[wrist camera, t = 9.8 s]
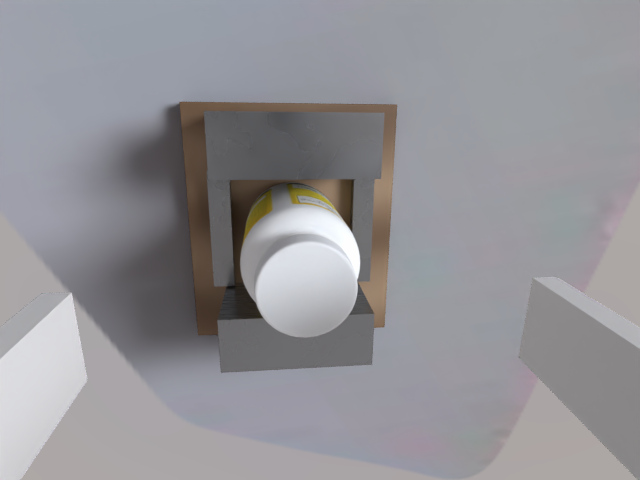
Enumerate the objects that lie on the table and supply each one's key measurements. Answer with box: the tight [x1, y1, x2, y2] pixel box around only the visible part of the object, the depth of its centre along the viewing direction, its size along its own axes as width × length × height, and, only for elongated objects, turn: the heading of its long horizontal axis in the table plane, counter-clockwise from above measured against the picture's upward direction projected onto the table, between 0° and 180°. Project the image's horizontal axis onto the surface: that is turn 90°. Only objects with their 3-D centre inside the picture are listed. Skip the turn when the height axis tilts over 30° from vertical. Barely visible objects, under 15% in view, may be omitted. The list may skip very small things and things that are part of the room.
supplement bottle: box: [240, 182, 360, 337], centre depth 21 cm, size 5×5×10 cm
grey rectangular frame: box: [204, 111, 384, 373], centre depth 23 cm, size 13×9×5 cm
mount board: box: [180, 102, 397, 335], centre depth 26 cm, size 14×12×1 cm
